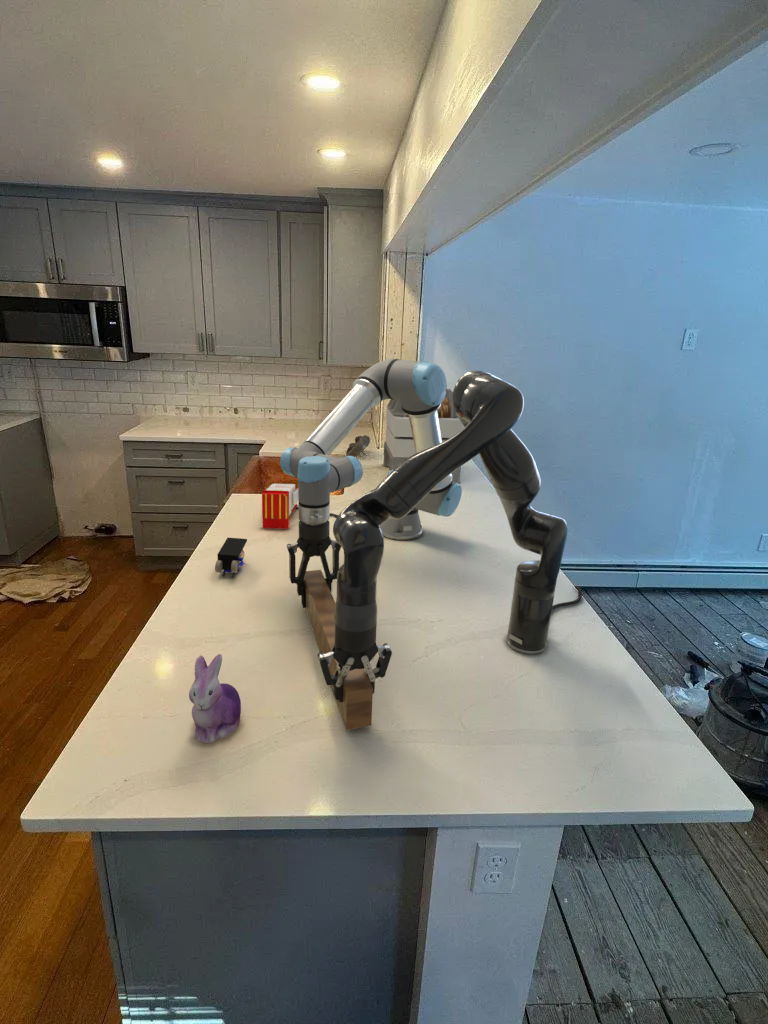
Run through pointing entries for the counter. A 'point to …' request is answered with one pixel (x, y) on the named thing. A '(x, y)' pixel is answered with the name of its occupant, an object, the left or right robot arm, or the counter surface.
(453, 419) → the slatted crate
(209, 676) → the figurine
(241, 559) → the figurine character
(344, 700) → the beam
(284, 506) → the toy
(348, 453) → the fossil
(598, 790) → the counter surface
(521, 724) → the counter surface
